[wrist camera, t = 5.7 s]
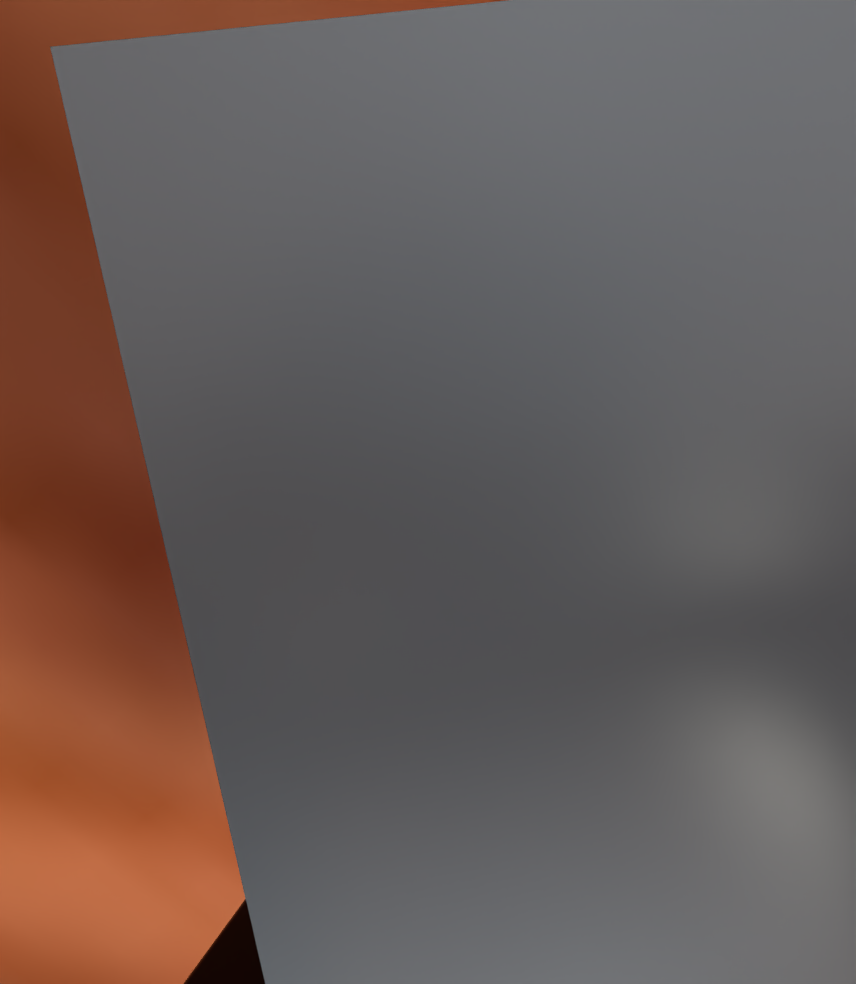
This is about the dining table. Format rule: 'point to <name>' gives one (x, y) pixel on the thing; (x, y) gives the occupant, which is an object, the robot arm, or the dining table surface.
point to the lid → (506, 473)
